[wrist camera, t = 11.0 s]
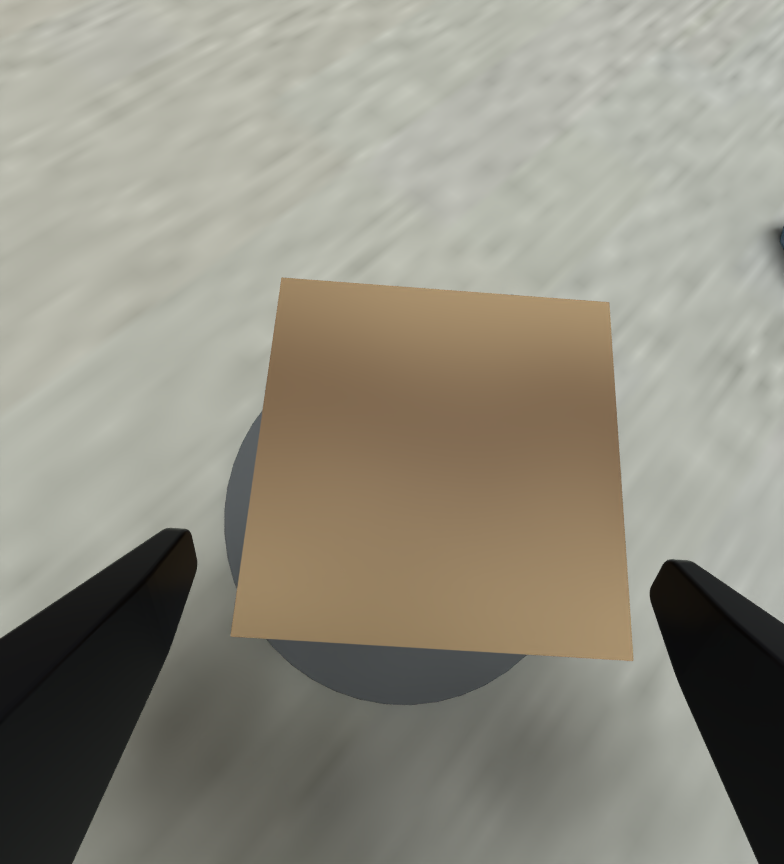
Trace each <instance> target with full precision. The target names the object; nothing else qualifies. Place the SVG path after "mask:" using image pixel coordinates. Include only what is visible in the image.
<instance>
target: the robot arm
mask: <svg viewBox="0 0 784 864" xmlns="http://www.w3.org/2000/svg"><path fill="white" fill-rule="evenodd" d="M196 570H197V557H196V553H195V548H194V544H193V539H192V535H191V533H190V531H189V530H187V529H179V528H166V529H164V530H162V531H160V532H159V533H157V534H156V535H154V536H153V537H151V538H150V539H148V540H147V541H145V542H144V543H142V544H141V545H139V546H138V547H136V548H135V549H133V550H132V551H130V552H129V553H127V554H126V555H124V556H123V557H121V558H120V559H118V560H117V561H115V562H114V563H112V564H111V565H109V566H108V567H106V568H105V569H103V570H102V571H100V572H99V573H97V574H96V575H94V576H93V577H91V578H90V579H88V580H87V581H85V582H84V583H82V584H81V585H79V586H78V587H76V588H75V589H74V590H72V591H71V592H69V593H68V594H66V595H65V596H63V597H62V598H60V599H59V600H57V601H56V602H54V603H53V604H51V605H50V606H48V607H47V608H45V609H44V610H42V611H41V612H39V613H38V614H36V615H35V616H33V617H32V618H30V619H29V620H27V621H26V622H24V623H23V624H21V625H20V626H18V627H17V628H15V629H14V630H12V631H11V632H9V633H8V634H6V635H5V636H3V637H2V638H0V864H72V863H73V860H74V858H75V856H76V854H77V852H78V850H79V847H80V845H81V843H82V841H83V839H84V837H85V834H86V832H87V830H88V828H89V826H90V823H91V821H92V819H93V817H94V815H95V813H96V810H97V808H98V806H99V804H100V802H101V799H102V797H103V795H104V793H105V791H106V789H107V786H108V784H109V782H110V780H111V778H112V775H113V773H114V771H115V769H116V767H117V765H118V762H119V760H120V758H121V756H122V754H123V752H124V749H125V747H126V745H127V743H128V741H129V738H130V736H131V734H132V732H133V730H134V728H135V725H136V723H137V721H138V719H139V717H140V714H141V712H142V710H143V708H144V706H145V704H146V701H147V699H148V697H149V695H150V693H151V691H152V688H153V686H154V684H155V682H156V680H157V677H158V675H159V673H160V671H161V669H162V667H163V664H164V662H165V660H166V657H167V655H168V653H169V650H170V647H171V644H172V642H173V639H174V636H175V633H176V630H177V627H178V624H179V621H180V618H181V615H182V612H183V609H184V606H185V603H186V601H187V598H188V595H189V592H190V589H191V586H192V583H193V580H194V577H195V574H196ZM650 600H651V604H652V607H653V610H654V613H655V616H656V619H657V622H658V625H659V628H660V631H661V634H662V637H663V640H664V643H665V646H666V649H667V652H668V655H669V658H670V660H671V663H672V666H673V669H674V672H675V675H676V677H677V680H678V683H679V685H680V687H681V690H682V692H683V695H684V697H685V699H686V701H687V704H688V706H689V708H690V710H691V713H692V715H693V717H694V719H695V722H696V724H697V726H698V728H699V731H700V733H701V735H702V737H703V740H704V742H705V744H706V746H707V749H708V751H709V753H710V755H711V758H712V760H713V762H714V764H715V767H716V769H717V771H718V773H719V776H720V778H721V780H722V782H723V785H724V787H725V789H726V792H727V794H728V796H729V798H730V801H731V803H732V805H733V807H734V810H735V812H736V814H737V816H738V819H739V821H740V823H741V825H742V828H743V830H744V832H745V834H746V837H747V839H748V841H749V843H750V846H751V848H752V850H753V852H754V855H755V857H756V859H757V861H758V864H784V624H783V623H782V622H780V621H779V620H777V619H776V618H775V617H773V616H772V615H770V614H769V613H767V612H766V611H764V610H763V609H761V608H760V607H758V606H757V605H755V604H754V603H753V602H751V601H750V600H748V599H747V598H745V597H744V596H742V595H741V594H739V593H738V592H736V591H735V590H733V589H732V588H731V587H729V586H728V585H726V584H725V583H723V582H722V581H720V580H719V579H717V578H716V577H714V576H713V575H711V574H710V573H709V572H707V571H706V570H704V569H703V568H701V567H700V566H698V565H697V564H695V563H694V562H692V561H688V560H674V559H670V560H667V561H666V562H664V564H663V565H662V567H661V569H660V571H659V573H658V575H657V576H656V578H655V580H654V582H653V584H652V586H651V588H650Z"/></svg>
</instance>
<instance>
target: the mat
mask: <svg viewBox="0 0 784 864" xmlns="http://www.w3.org/2000/svg"><path fill="white" fill-rule="evenodd" d="M261 418H262V412H261V413H260V415H259V416H258V417H257V419H256V420H255V421H254V423H253V424H252V426H251V428H250V430H249V432H248V433H247V435H246V437H245V439H244V440H243V442H242V445H241V447H240V449H239V452H238V454H237V457H236V459H235V462H234V464H233V468H232V472H231V476H230V479H229V483H228V488H227V495H226V503H225V541H226V549H227V556H228V561H229V565H230V568H231V572H232V576H233V580H234V583H235V585H236V588H237V587H238V580H239V573H240V566H241V559H242V552H243V545H244V538H245V530H246V523H247V516H248V509H249V502H250V495H251V488H252V481H253V474H254V467H255V460H256V453H257V446H258V439H259V432H260V425H261ZM267 640H268V642H269V643H270V644H271V645H272V647H273V648H274V649H275V650H277V651H278V652H279V653H280V654H281V655H282V656H283V657H284V658H285V659H286V660H287V661H288V662H289V663H290V664H291V665H293V666H294V667H296V668H297V669H298V670H300V671H301V672H303V673H304V674H305V675H307V676H308V677H310V678H311V679H313V680H315V681H317V682H318V683H320V684H322V685H324V686H326V687H328V688H330V689H332V690H334V691H336V692H339V693H342V694H345V695H348V696H351V697H354V698H357V699H360V700H366V701H371V702H377V703H382V704H399V705H415V704H423V703H432V702H438V701H442V700H446V699H450V698H453V697H457V696H461V695H463V694H466V693H468V692H470V691H473V690H475V689H477V688H480V687H482V686H484V685H486V684H488V683H489V682H491V681H493V680H494V679H496V678H497V677H499V676H501V675H502V674H504V673H505V672H507V671H508V670H509V669H511V668H512V667H513V666H514V665H515V664H517V663H518V662H519V661H520V660H521V659H522V658H524V657H525V656H526V654H510V653H494V652H477V651H461V650H444V649H428V648H411V647H395V646H378V645H362V644H345V643H329V642H312V641H296V640H279V639H267Z"/></svg>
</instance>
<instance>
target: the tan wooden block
mask: <svg viewBox="0 0 784 864" xmlns="http://www.w3.org/2000/svg"><path fill="white" fill-rule="evenodd" d="M230 637H246V638H263V639H279V640H296V641H312V642H329V643H345V644H362V645H378V646H395V647H411V648H428V649H444V650H461V651H477V652H494V653H510V654H526V655H543V656H559V657H576V658H592V659H609V660H625V661H633V647H632V632H631V617H630V603H629V588H628V573H627V558H626V544H625V529H624V514H623V499H622V484H621V470H620V455H619V440H618V425H617V411H616V396H615V381H614V366H613V351H612V337H611V322H610V307H609V302H598V301H585V300H572V299H558V298H545V297H532V296H519V295H505V294H492V293H479V292H466V291H452V290H439V289H426V288H412V287H399V286H386V285H373V284H359V283H346V282H333V281H320V280H306V279H293V278H281V285H280V292H279V299H278V306H277V313H276V320H275V327H274V334H273V341H272V348H271V355H270V362H269V369H268V376H267V383H266V390H265V397H264V404H263V411H262V418H261V425H260V432H259V439H258V446H257V453H256V460H255V467H254V474H253V481H252V488H251V495H250V502H249V509H248V516H247V523H246V530H245V538H244V545H243V552H242V559H241V566H240V573H239V580H238V587H237V594H236V601H235V608H234V615H233V622H232V629H231V636H230Z"/></svg>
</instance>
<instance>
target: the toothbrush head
mask: <svg viewBox="0 0 784 864" xmlns="http://www.w3.org/2000/svg"><path fill="white" fill-rule="evenodd" d="M780 242H781V245H782V247H783V249H784V227H783V231H782V235H781V239H780Z"/></svg>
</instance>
